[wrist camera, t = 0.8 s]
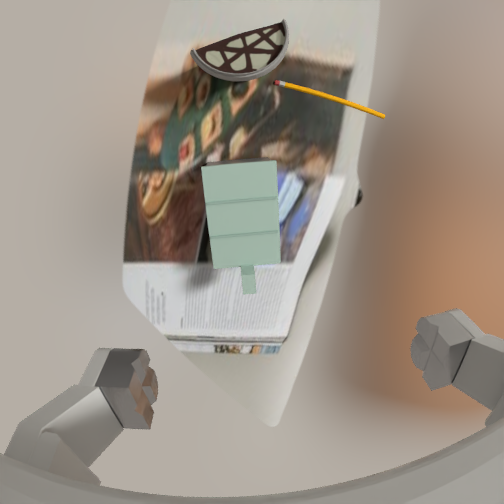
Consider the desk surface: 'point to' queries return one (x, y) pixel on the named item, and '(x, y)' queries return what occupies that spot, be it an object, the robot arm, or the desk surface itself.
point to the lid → (243, 216)
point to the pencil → (329, 97)
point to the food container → (245, 53)
